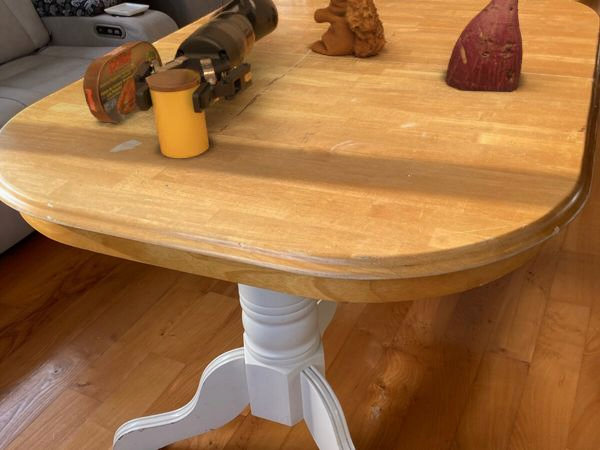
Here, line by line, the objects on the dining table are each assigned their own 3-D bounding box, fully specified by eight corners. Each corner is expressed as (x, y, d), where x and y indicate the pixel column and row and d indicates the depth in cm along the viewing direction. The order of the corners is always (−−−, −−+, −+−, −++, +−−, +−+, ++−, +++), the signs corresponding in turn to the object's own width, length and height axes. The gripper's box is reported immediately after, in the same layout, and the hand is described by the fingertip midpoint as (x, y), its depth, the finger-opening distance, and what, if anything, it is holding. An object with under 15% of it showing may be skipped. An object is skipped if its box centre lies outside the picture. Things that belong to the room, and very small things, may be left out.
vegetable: (497, 89, 90) (534, -13, 84) (525, 106, 81) (568, -7, 75) (433, 76, 89) (465, -30, 82) (453, 92, 79) (491, -26, 73)
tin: (109, 134, 74) (94, 68, 69) (88, 131, 75) (72, 67, 70) (169, 91, 86) (159, 33, 81) (150, 90, 86) (139, 32, 82)
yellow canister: (153, 161, 67) (138, 86, 62) (171, 140, 72) (158, 68, 67) (201, 164, 66) (190, 87, 61) (216, 141, 71) (207, 69, 66)
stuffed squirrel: (348, 37, 105) (348, -42, 98) (403, 55, 96) (408, -31, 88) (303, 48, 101) (300, -34, 93) (357, 68, 91) (358, -21, 84)
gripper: (157, 25, 76) (98, 68, 62) (265, 26, 73) (229, 71, 60) (166, 81, 80) (113, 133, 66) (268, 83, 78) (236, 138, 64)
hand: (168, 103), depth 63 cm, fingers closed on yellow canister, 5 cm apart
